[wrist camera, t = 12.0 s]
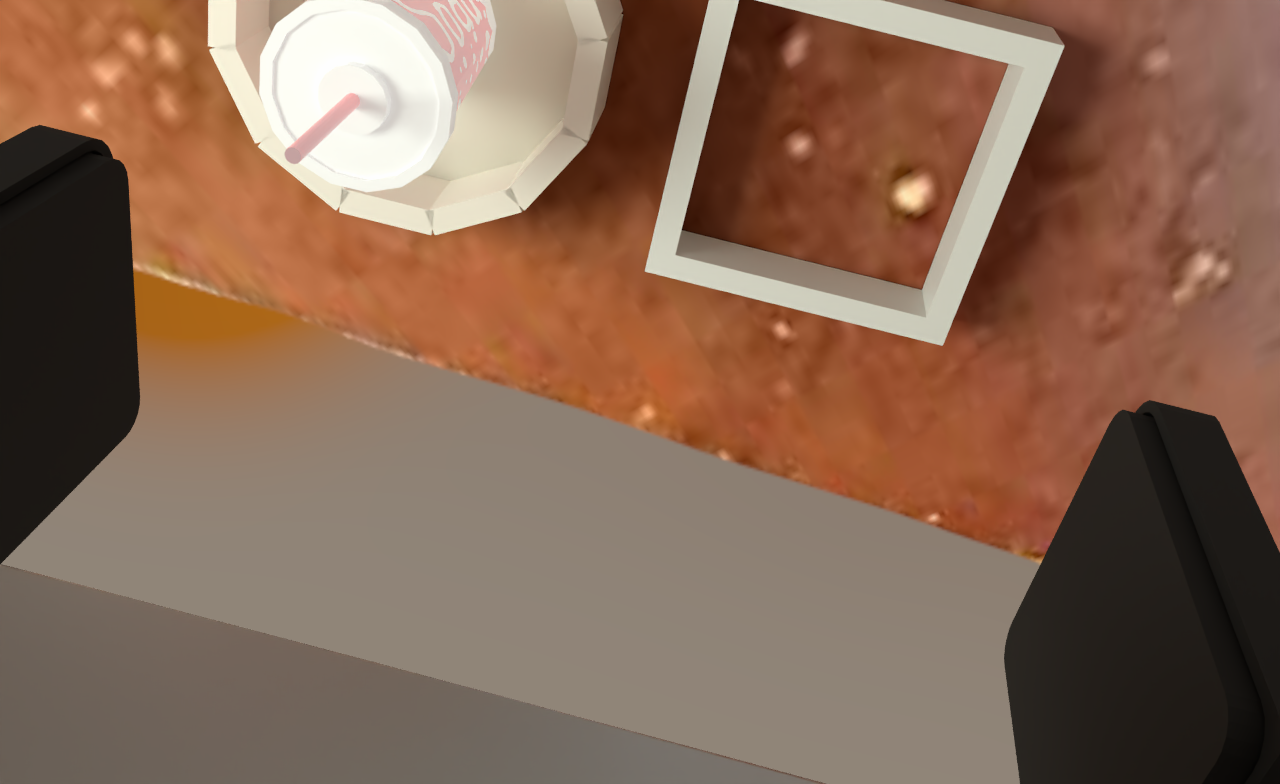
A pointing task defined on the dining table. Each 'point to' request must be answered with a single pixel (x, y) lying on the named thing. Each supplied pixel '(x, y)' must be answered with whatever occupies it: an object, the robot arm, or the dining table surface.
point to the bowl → (460, 110)
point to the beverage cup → (372, 84)
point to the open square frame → (920, 12)
